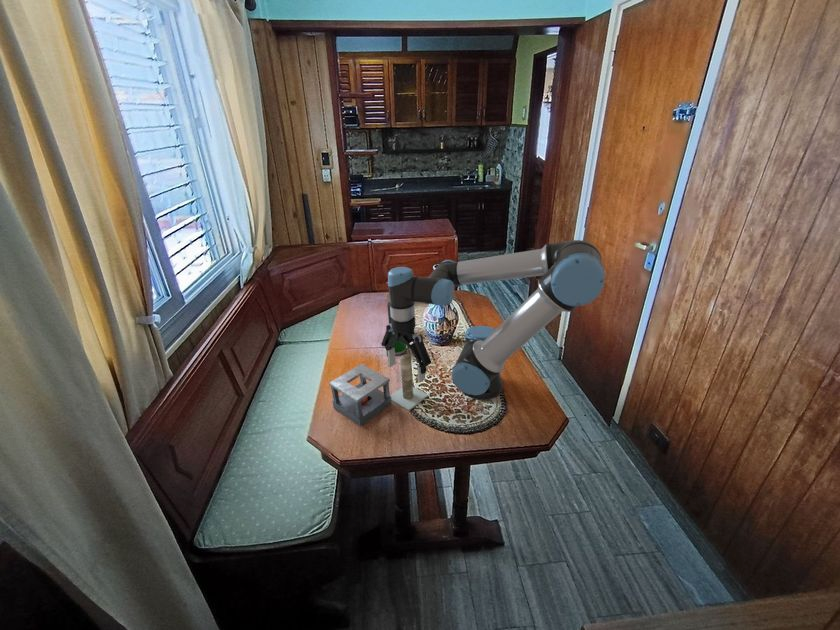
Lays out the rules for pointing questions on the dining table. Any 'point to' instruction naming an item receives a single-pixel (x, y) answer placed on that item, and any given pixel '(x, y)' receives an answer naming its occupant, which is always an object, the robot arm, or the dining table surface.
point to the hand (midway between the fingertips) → (406, 372)
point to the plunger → (364, 400)
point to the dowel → (406, 376)
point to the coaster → (408, 403)
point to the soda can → (398, 346)
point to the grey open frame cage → (361, 394)
